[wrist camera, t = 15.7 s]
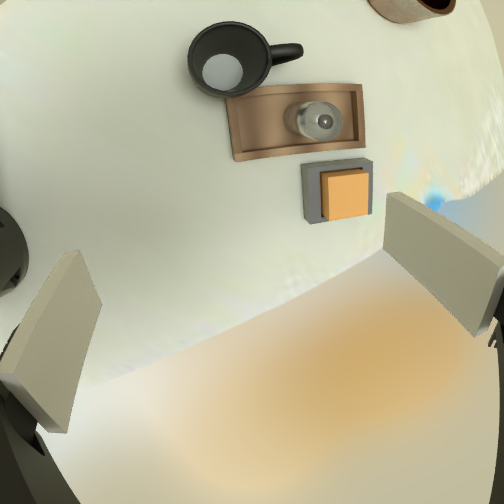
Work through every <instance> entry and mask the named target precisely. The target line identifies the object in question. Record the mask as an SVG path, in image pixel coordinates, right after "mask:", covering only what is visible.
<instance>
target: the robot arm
mask: <svg viewBox="0 0 504 504" xmlns="http://www.w3.org/2000/svg"><path fill="white" fill-rule="evenodd" d="M383 249H384V250H385V251H386V252H387V253H388V254H389V255H391V256H392V257H393V258H394V259H395V260H396V261H397V262H398V263H399V264H401V266H403V267H404V268H405V269H406V270H407V271H408V272H409V273H410V274H411V275H412V276H413V277H415V279H417V280H418V281H419V282H420V283H421V284H422V285H423V286H424V287H425V288H426V289H427V290H428V291H429V292H430V293H431V294H432V295H433V296H434V297H435V298H436V299H437V300H438V301H440V303H441V304H442V305H443V306H444V307H445V308H446V309H447V310H448V311H449V312H450V313H451V314H452V315H453V316H454V317H455V318H456V319H457V320H458V321H459V322H460V323H461V324H462V325H463V326H464V327H465V328H466V329H467V331H468V332H470V333H471V335H472V336H473V337H477V336H478V335H480V334H482V333H484V332H485V331H487V330H488V328H489V325H490V323H491V321H492V318H493V316H494V317H495V318H496V319H497V320H498V323H497V325H496V327H495V329H494V332H493V334H492V336H491V338H490V340H489V343H488V347H491V344H492V343H493V341H494V340H496V341H497V342H496V344H495V346H494V348H497V351H498V363H499V381H500V382H499V383H500V418H499V419H500V420H499V421H500V422H499V438H498V450H497V460H496V467H495V474H494V481H493V487H492V493H491V498H490V502H489V504H504V256H503V255H502V254H500V253H499V252H497V251H496V250H494V249H493V248H492V247H490V246H489V245H487V244H486V243H484V242H483V241H482V240H480V239H479V238H477V237H475V236H474V235H472V234H471V233H469V232H468V231H466V230H465V229H463V228H462V227H460V226H458V225H457V224H455V223H454V222H452V221H450V220H449V219H447V218H445V217H444V216H442V215H440V214H439V213H437V212H435V211H434V210H432V209H430V208H429V207H427V206H425V205H423V204H422V203H420V202H418V201H416V200H414V199H413V198H411V197H409V196H407V195H405V194H403V193H402V192H394V193H387V198H386V216H385V231H384V243H383ZM27 268H28V250H27V245H26V242H25V239H24V236H23V234H22V232H21V230H20V228H19V226H18V225H17V223H16V222H15V221H14V219H13V218H12V217H11V216H10V215H9V214H8V213H7V212H6V211H4V210H3V209H2V208H0V297H2V296H3V295H5V294H7V293H9V292H11V291H12V290H14V289H15V288H16V287H17V286H18V285H19V283H20V282H21V281H22V279H23V278H24V276H25V274H26V272H27ZM101 306H102V303H101V301H100V298H99V296H98V294H97V292H96V289H95V287H94V285H93V282H92V280H91V277H90V275H89V272H88V270H87V267H86V265H85V262H84V260H83V257H82V255H81V252H80V250H77V251H72V252H68V253H65V254H64V255H63V256H62V258H61V259H60V261H59V262H58V264H57V265H56V267H55V268H54V270H53V271H52V273H51V274H50V276H49V277H48V279H47V280H46V282H45V283H44V285H43V286H42V288H41V289H40V291H39V293H38V294H37V296H36V297H35V299H34V301H33V302H32V304H31V306H30V307H29V309H28V311H27V312H26V314H25V316H24V318H23V319H22V321H21V323H20V324H19V325H18V326H17V327H16V328H15V329H14V331H13V332H12V334H11V336H10V338H9V339H8V341H7V342H8V343H7V344H6V345H5V347H4V349H3V352H2V353H1V355H0V504H80V502H79V501H78V499H77V498H76V496H75V495H74V493H73V492H72V490H71V489H70V487H69V486H68V484H67V482H66V481H65V479H64V477H63V476H62V474H61V472H60V471H59V469H58V467H57V465H56V464H55V462H54V460H53V458H52V456H51V454H50V453H49V451H48V449H47V447H46V445H45V443H44V441H43V439H42V437H41V436H40V435H39V433H38V432H37V431H36V426H37V422H38V423H39V424H40V425H41V426H42V427H43V428H44V429H45V430H46V431H47V432H51V433H67V431H68V426H69V420H70V416H71V411H72V407H73V403H74V398H75V394H76V390H77V386H78V382H79V378H80V374H81V371H82V367H83V364H84V360H85V356H86V353H87V350H88V346H89V343H90V340H91V337H92V333H93V330H94V327H95V324H96V321H97V318H98V315H99V312H100V309H101Z"/></svg>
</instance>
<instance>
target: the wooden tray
mask: <svg viewBox="0 0 504 504" xmlns="http://www.w3.org/2000/svg"><path fill="white" fill-rule="evenodd" d="M230 91H235V90H230ZM228 92H229V91H228ZM225 101H226V108H227V116H228V123H229V130H230V137H231V144H232V152H233V159H234V161H235V162H240V161H247V160H253V159H260V158H267V157H275V156H283V155H291V154H299V153H308V152H318V151H328V150H340V149H352V148H366V147H365V121H364V104H363V90H362V84H298V85H280V86H267V87H256V88H255V89H254V90H252V91H250V92H249V93H247V94H245V95H243V96H240V97H236V98H227V99H225ZM296 102H328V103H331V104H333V105H334V106H336V107H337V108H338V110H339V111H340V113H341V115H342V120H343V125H342V129H341V131H340V133H339V135H338V136H337V137H336V138H334V139H332V140H330V141H319V140H315V139H312V138H308V137H304V136H301V135H297V134H294V133H292V132H290V131H289V130H288V129H287V128H286V126H285V125H284V121H283V115H284V112H285V110H286V108H287V107H288V106H289V105H291V104H293V103H296Z"/></svg>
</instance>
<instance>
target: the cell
mask: <svg viewBox="0 0 504 504" xmlns="http://www.w3.org/2000/svg"><path fill="white" fill-rule="evenodd" d="M283 121H284V125H285V126H286V128H287V129H288V130H289V131H290V132H292V133H294V134H297V135H301V136H304V137H308V138H312V139H315V140H319V141H330V140H332V139H334V138H336V137H337V136H338V135H339V133H340V131H341V129H342V125H343V120H342V115H341V113H340V111H339V110H338V108H337V107H336V106H334V105H333V104H331V103H328V102H296V103H293V104H291V105H289V106H288V107H287V108H286V110H285V112H284V115H283Z"/></svg>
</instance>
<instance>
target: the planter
mask: <svg viewBox="0 0 504 504" xmlns="http://www.w3.org/2000/svg"><path fill="white" fill-rule="evenodd" d="M368 1H369V2H370V4H371V5H372V6H373V7H374V8H375V9H376V11H378V12H379V13H380V14H381V15H382V16H384V17H385V18H387V19H389V20H391V21H393V22H396V23H411V22H416V21H420V20H424V19H429V18H434V17H439V16H445V15H448V14H450V13H451V12H452V11H453V10H454V8H455V5H456V0H368Z"/></svg>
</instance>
